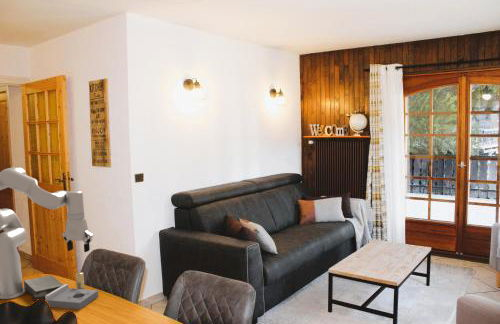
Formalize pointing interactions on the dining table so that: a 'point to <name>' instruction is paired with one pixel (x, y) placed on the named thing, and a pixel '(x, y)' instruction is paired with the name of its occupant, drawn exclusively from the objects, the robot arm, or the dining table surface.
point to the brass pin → (80, 280)
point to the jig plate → (70, 297)
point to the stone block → (41, 286)
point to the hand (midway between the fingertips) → (78, 250)
